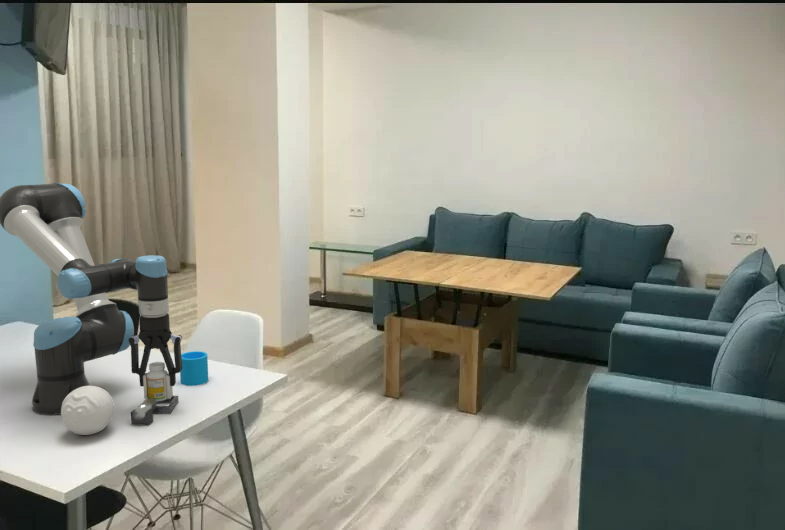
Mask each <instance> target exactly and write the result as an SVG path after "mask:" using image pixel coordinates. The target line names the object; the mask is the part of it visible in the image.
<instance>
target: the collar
mask: <svg viewBox="0 0 785 530" xmlns="http://www.w3.org/2000/svg"><path fill="white" fill-rule="evenodd" d="M145 400H147V399H144V401H145ZM156 402H157V406H156V408H155V409H154V410H153V415H172V413H173V412H174V410H175V409H176V407H177V406H178V405H179V395H173V396H172V397H171V399H166V400H163V401H156ZM164 404H167V405H164Z"/></svg>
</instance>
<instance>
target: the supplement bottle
mask: <svg viewBox="0 0 785 530" xmlns="http://www.w3.org/2000/svg"><path fill="white" fill-rule="evenodd" d="M148 364H149V365H148V369H149V371H148V372H146V373H147V387H148V398H153V399H155V400H156V401H163V400H166V399H167V381H166V376H167V374H168V373H169V372H168V370H167V369H166V364H165V361H164V362H163V361H155V362H151V363H148Z"/></svg>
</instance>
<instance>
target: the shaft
mask: <svg viewBox="0 0 785 530" xmlns="http://www.w3.org/2000/svg"><path fill="white" fill-rule="evenodd" d="M156 406H158V404H157V402H156V400H155V399H153V398H148V399H147V400H145V399H144V401H143V402H142V403H140V404H139V405H138V406H136V407H135V408H134V409H132V410H131V411H130V414H129V415H130V425H132V426H133V425H135V426H136V425H137V426H150V425H151V424H153V423H154V414H153V410H154V409H155V408H156Z"/></svg>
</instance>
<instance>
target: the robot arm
mask: <svg viewBox="0 0 785 530" xmlns="http://www.w3.org/2000/svg"><path fill="white" fill-rule="evenodd" d="M1 194H2V195H1V196H0V226H1V227H2V228H3V229H4V230H5V231H6V232H7V233H8V234H9V235H11V236H14V237H15V236H16V237H17V238H19V240H21V241H22V243H24V245H26V247H28V248H29V250H30V251H32V252H33V253H34V254H35V255H36V257H38V258H39V259H40V260H41V262H43V263H44V264H45V265H46V266H47V267H48V268H49V269H50V270H51V271H52V272H53V273H54V274H55V275H56V276H57V280H56V284H57V289H58V290H59V293H60V294H61V296H62V297H64V298H65V299H67V300H68V299H69V300H72V299H73V301H74V304H75V306H76V309H77V313H76V314H75V316H64V317H56V318H53V319H50V320H49V319H48V320H46V321H44V322H42V323H41V324H39V325H38V326H37V327H36V328H35V329H34V331H33V348H34V356H35V368H36V369H35V370H36V377H37V378H36V379H37V382H36V386H35V388H34V393H33V396H32V401H31V406H32V410H33V411H34V412H35V413H38V414H39V415H61V407H62V402H63V401H64V399H65V398H66V396H67V395H68V394H69V393H71V392H72V391H73V390H75V389H77V388H80V387H83V386H91V385H90V383H89V381H88V379H87V376H86V374H85V362H89V361H93V360H97V359H101V358H104V357H108V356H111V355H113V356H114V355H116V354H118V353H121V352H123V351H126V350H128V348H130V357H131V358H130V361H131V362H130V363H131V364H130V365H131V366H130V367H131V373H132V374H137V375H138V378H139V386H140V387H143V398H144V400H145V399H148V387H147V373H148V372H147V367H148V364H149V363H148V362H149V359H150V356H151V351H152V350H153V349H157V350H159V352H160V353H161V356H162V358H163V361H164V363H165V368H167V369H166V371H167V372H168V374H167V376H166V381H167V399H171V397H172V396H174V391H173V390H174V389H173V387H174V386H175V385H176V383H177V378H176V376H177V375H176V374H180V371H181V370H182V358H181V354H182V349H181V348H182V347H181V342H182V340H183V336H182V334H179V335H176V334H172V333H173V332H171V328H170V327H171V325H170V315H169V311H170V307H169V288H168V285H169V284H168V267H167V260H166V258H165V257H164V256H162V255H143V256H138V257H137V258H136V260H131V259H128V258H116V259H113V260H111V261H110V262H105V263H102V264H95V263H94V260H93V257H92V255H91V252H90V250H89V247H88V245H87V243H86V240H85V238H84V235H83V232H82V230H81V226H83V223H84V220H83V219H84V217H85V216H86V213H87V211H86V210H87V209H86V208H85V207H86V201H85V199H84V197H83V195H82V193H81V191H80V190H79V189H78V188H77V187H75V186H74V185H72V184H69V183H60V182H54V183H44V184H42V183H41V184H22V185H21V184H20V185H15V186H13V187H10V188H8V189H7V190H6V191H4V192H3V193H1ZM126 289H131V290H136V291H137V302H138V303H137V304H138V314H139V315H140V316H138V317H139V318H138V319H139V320H138V321H139V323H138V324H139V333H138V334H137V335H135V327H134V321H133V319H132V317H131V316H130V314H129V313H128V312H127V311H125V310H119V308H118V306H117V303H116V302H113V301H111V300H109V298H108V295H107V293H110V292H115V291H121V290H126ZM170 340H171V343H172V344H173V355H174V357H173V358H174V361H173V358H172V356H171V352H170V350H169V349H170V348H169V345H168V342H169V341H170ZM140 341H141V342H142V344H143V345H144V348H143V353H142V357H141V362H140V360H139V359H140V357H139V356H140V355H139V351H140V349H139V343H140Z"/></svg>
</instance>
